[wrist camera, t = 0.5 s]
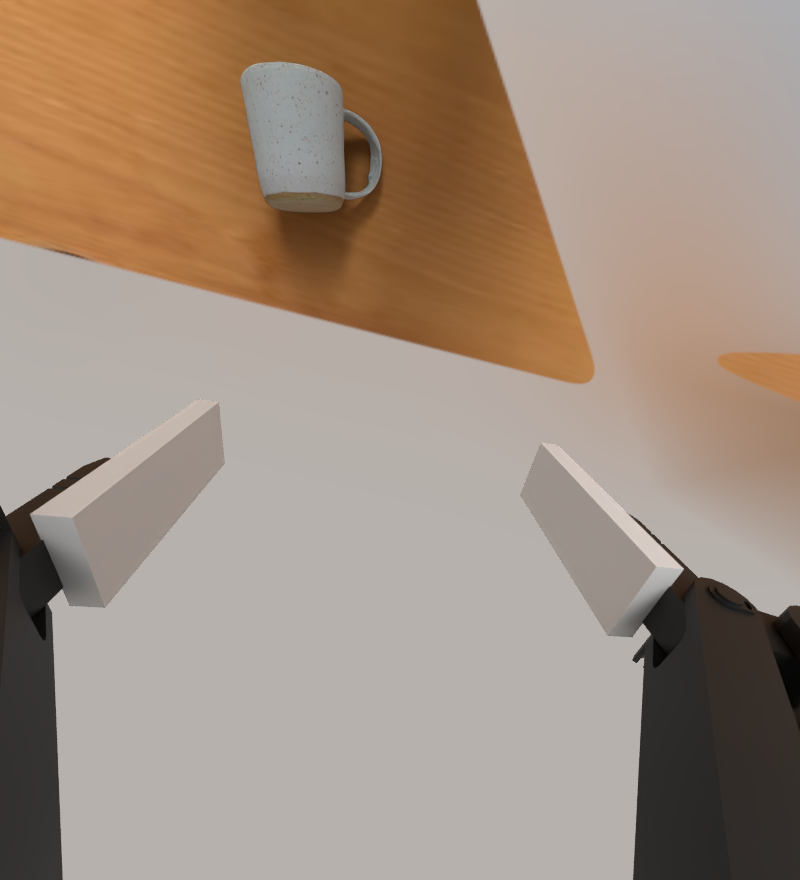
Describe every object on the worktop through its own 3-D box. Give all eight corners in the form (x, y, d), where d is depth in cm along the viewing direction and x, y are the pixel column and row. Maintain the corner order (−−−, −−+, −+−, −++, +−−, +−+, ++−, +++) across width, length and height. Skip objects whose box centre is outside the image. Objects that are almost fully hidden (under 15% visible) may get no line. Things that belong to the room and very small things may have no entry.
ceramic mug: (276, 217, 32) (249, 201, 26) (258, 105, 29) (222, 52, 22) (383, 215, 33) (385, 200, 26) (379, 105, 29) (380, 54, 22)
